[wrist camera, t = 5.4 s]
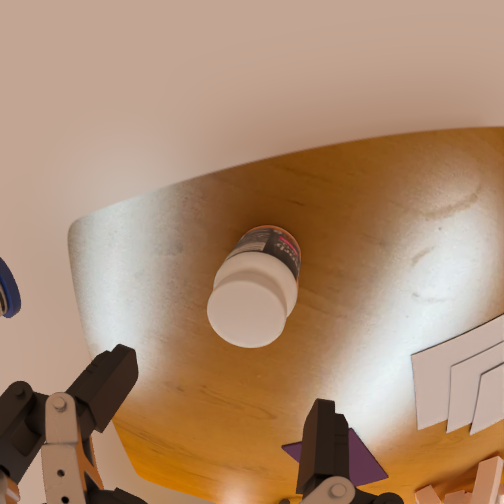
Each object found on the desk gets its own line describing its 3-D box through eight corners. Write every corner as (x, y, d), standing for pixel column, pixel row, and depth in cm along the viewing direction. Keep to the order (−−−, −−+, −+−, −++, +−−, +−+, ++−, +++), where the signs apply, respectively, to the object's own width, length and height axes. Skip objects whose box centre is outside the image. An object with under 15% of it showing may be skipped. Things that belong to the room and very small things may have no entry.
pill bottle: (311, 270, 25) (311, 340, 16) (254, 292, 27) (228, 363, 18) (283, 212, 24) (268, 256, 15) (225, 239, 26) (180, 293, 17)
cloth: (281, 445, 36) (281, 447, 36) (351, 427, 32) (351, 430, 32) (334, 489, 41) (334, 491, 40) (388, 476, 37) (388, 477, 37)
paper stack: (418, 452, 33) (418, 455, 32) (411, 355, 27) (412, 359, 26) (531, 398, 26) (532, 401, 25) (559, 280, 19) (561, 282, 19)
